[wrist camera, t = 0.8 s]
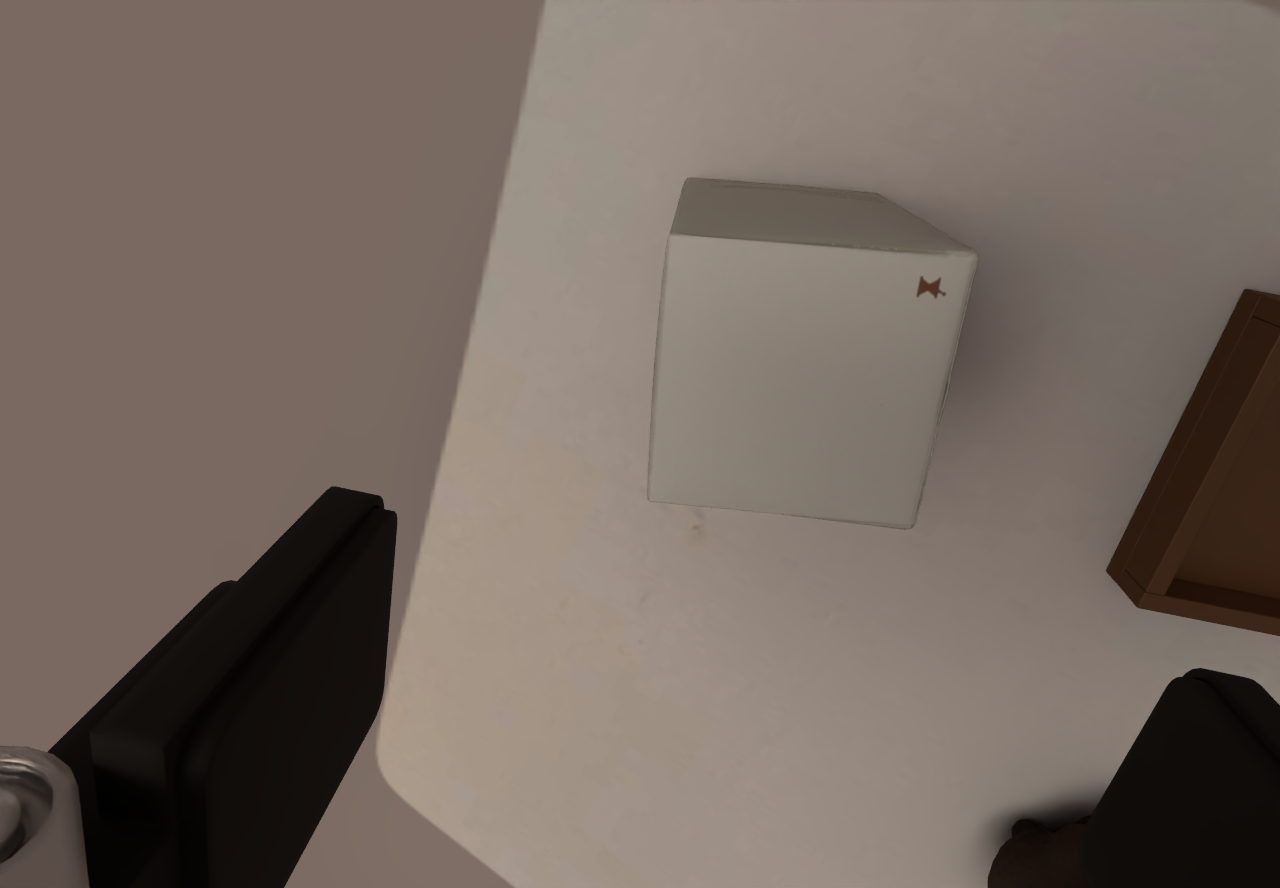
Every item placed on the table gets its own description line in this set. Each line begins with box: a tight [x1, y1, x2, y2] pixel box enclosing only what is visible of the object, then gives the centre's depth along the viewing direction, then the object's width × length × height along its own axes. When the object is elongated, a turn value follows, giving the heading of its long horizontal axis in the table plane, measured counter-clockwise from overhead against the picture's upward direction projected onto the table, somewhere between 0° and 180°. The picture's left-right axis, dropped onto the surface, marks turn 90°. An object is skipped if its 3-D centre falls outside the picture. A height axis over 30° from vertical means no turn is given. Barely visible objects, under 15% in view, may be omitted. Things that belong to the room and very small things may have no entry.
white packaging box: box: [647, 178, 979, 530], centre depth 25 cm, size 7×7×13 cm
